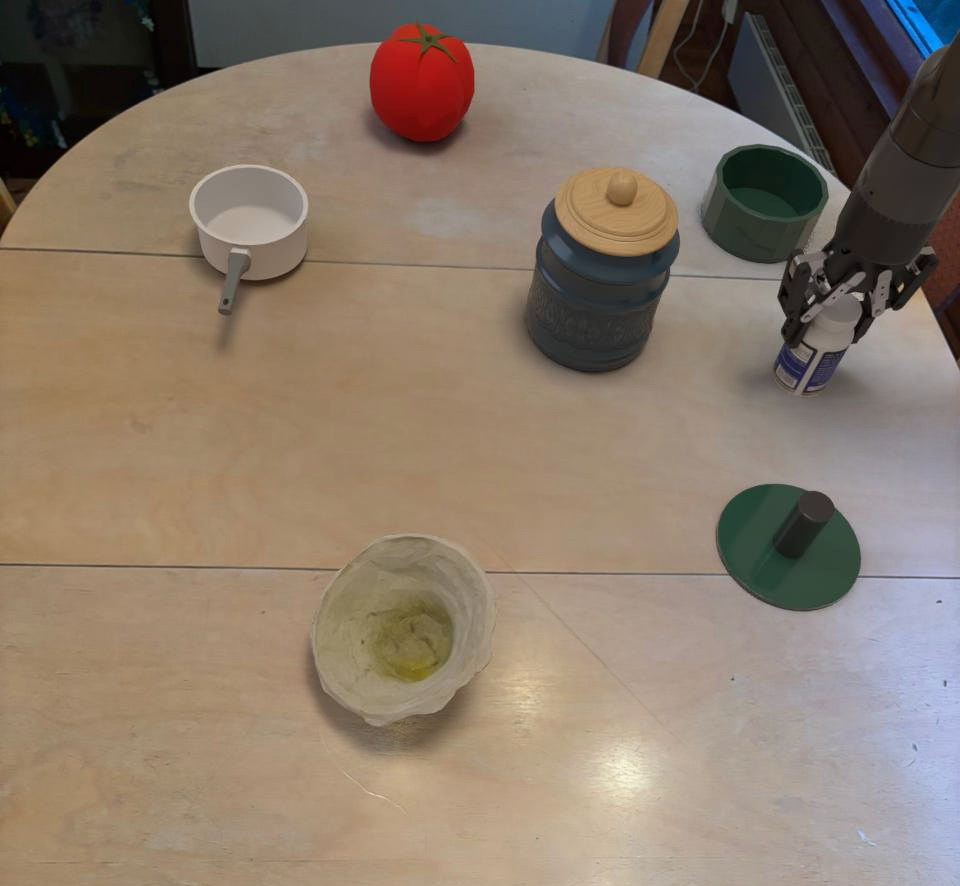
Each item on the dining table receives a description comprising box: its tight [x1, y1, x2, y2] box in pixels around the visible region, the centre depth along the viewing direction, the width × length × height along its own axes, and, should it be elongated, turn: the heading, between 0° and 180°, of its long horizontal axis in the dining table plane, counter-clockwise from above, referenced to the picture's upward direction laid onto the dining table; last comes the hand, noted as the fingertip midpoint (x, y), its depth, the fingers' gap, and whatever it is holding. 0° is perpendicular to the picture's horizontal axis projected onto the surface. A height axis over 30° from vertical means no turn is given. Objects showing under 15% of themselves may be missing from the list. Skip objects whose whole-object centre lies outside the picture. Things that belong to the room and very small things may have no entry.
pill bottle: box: [771, 287, 862, 398], centre depth 93 cm, size 6×6×10 cm
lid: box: [715, 483, 862, 611], centre depth 84 cm, size 13×13×7 cm
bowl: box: [308, 532, 498, 727], centre depth 74 cm, size 15×14×10 cm
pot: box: [701, 143, 830, 264], centre depth 105 cm, size 12×12×5 cm
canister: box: [525, 166, 681, 372], centre depth 90 cm, size 13×13×18 cm
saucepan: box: [188, 163, 309, 317], centre depth 93 cm, size 12×20×6 cm, turn 177°
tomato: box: [368, 18, 476, 142], centre depth 105 cm, size 12×12×10 cm
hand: (819, 339), depth 92 cm, fingers closed on pill bottle, 5 cm apart
